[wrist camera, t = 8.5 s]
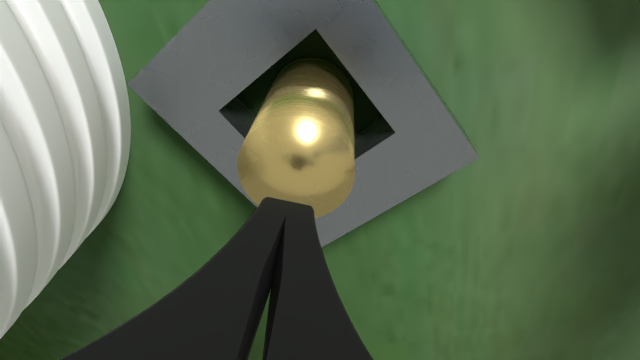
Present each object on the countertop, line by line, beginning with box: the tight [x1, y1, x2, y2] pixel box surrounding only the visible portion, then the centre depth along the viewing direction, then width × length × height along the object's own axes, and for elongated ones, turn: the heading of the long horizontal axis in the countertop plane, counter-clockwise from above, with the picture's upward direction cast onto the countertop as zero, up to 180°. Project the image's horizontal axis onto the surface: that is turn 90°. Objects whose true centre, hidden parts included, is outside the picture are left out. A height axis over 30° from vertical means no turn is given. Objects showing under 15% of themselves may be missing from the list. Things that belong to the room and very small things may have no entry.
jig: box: [127, 0, 479, 248], centre depth 18 cm, size 12×10×2 cm
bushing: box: [237, 57, 355, 218], centre depth 16 cm, size 4×4×7 cm
